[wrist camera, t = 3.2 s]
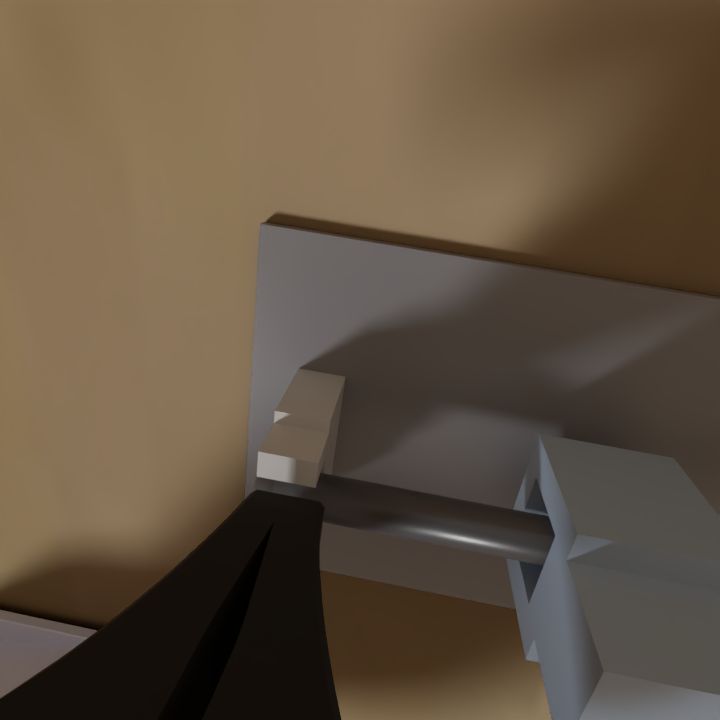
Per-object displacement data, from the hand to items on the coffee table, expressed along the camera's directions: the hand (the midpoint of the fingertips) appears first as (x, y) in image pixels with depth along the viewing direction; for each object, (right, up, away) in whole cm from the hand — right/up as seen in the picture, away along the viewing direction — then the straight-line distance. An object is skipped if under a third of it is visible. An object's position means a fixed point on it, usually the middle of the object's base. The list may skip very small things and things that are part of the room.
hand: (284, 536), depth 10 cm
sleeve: (+7, 0, +2) cm, 7 cm away
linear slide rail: (+9, 0, +3) cm, 10 cm away
